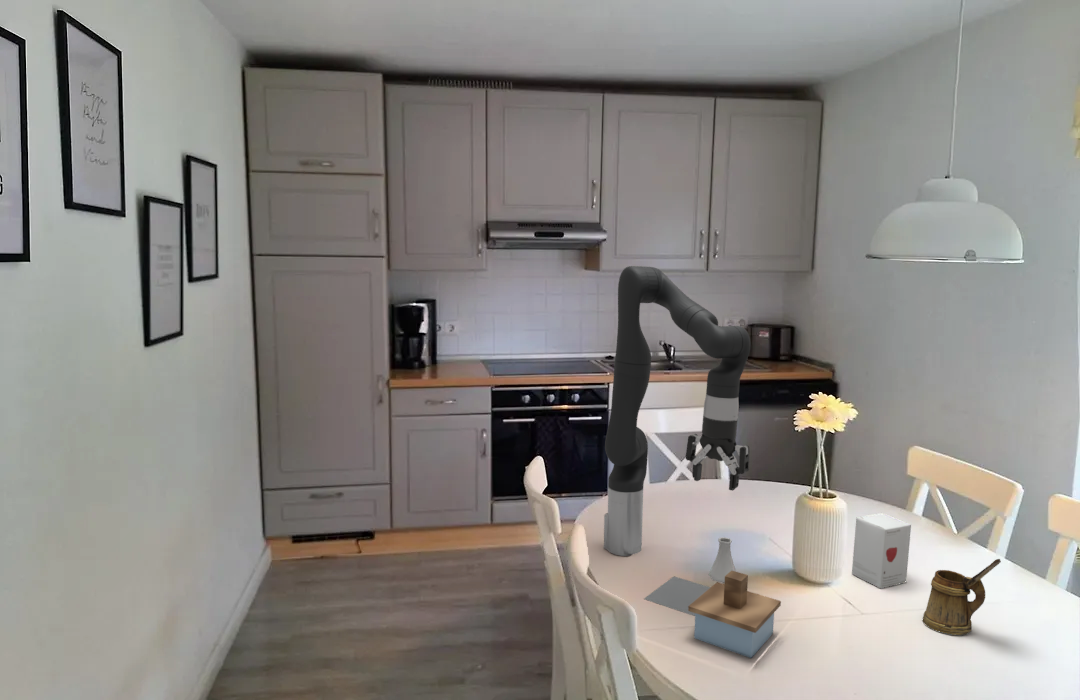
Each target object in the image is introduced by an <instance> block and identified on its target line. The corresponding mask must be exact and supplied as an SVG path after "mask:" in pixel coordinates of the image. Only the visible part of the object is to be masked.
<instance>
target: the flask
mask: <svg viewBox="0 0 1080 700" xmlns="http://www.w3.org/2000/svg"><path fill="white" fill-rule="evenodd" d="M717 541H718V542H719V544H718V551H717V555H716V557H715V559H714V562H713V564H712V567H711V569H710V571H709V574H708V576H709V577H710V579H711V580H712V581H715V582H719V583H722V584H724V583H725V576H726V575H727V574H728V573H729V572H730V571H735V572H737V570H736V567H735V563H734V560H733V556H732V550H731V544H732V541H733V540H732V539H731V538H729V537H725V536H723V537H721V536H720V537H719V538H718V539H717Z"/></svg>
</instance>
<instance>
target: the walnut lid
mask: <svg viewBox="0 0 1080 700" xmlns="http://www.w3.org/2000/svg"><path fill="white" fill-rule="evenodd" d="M748 579H749V574H745V573H742V572H739V571H736V572H735V571H730V572H729V573H728V574H727V575H726V576H725V583H723V582H718V581H715V583H713V585H711V586H709V587H710V588H709V589H708V590H707V591H706V592H705V593H703V594H702V595H701V596H700V597H699V598H698V599H696V600H695V601H694V602H693V603H692V604H690V605H689V606H688V611H690V612H693V613H696V614H699V615H702V616H705V617H708V618H711V619H715V620H718V621H721V622H724V623H727V624H730V625H733V626H736V627H739V628H742V629H745V630H748V631H751V632H754V633H756V632H757V631H758V630H759V629H760V628H761V626H762V625H763V624H764V623H765V622H766V621H767V620H768V619H769V618H770V617H771V615H772V614H773V613H774V614H775V612H776V611H777V610H778V609H779V608H780V607H781V603H782V601H781V600H779V599H775V598H772V597H769V596H766V595H763V594H758V593H755V592H752V591H748V585H749V584H748V583H749V580H748Z"/></svg>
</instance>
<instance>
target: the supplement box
mask: <svg viewBox="0 0 1080 700" xmlns="http://www.w3.org/2000/svg"><path fill="white" fill-rule="evenodd" d="M911 529H912V524H911V523H908V522H907V521H904V520H900V519H898V518H896V517H893V516H891V515H888V514H886V513H884V512H881V513H879V512H878V513H875V514H867V515H862V516H858V517H856V518H855V532H854V541H853V552H852V553H853V555H852V565H851V574H852V575H853V576H856V577H857V578H859V579H861V580H863V581H865V582H866V581H867V583H868V582H869V583H868V584H870V583H871V585H872V584H873V586H874V585H875V587H876V586H877V588H878V587H879V588H878V589H880V588H881V589H885V588H889V586H890V587H893V586H892V585H894V586H897V585H896V584H898V585H900V584H899V583H903V582H905V581H906V582H907V577H908V575H907V574H908V566H909V565H908V564H909V553H910V542H911V532H912V530H911ZM903 584H904V583H903ZM884 587H885V588H884Z"/></svg>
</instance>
